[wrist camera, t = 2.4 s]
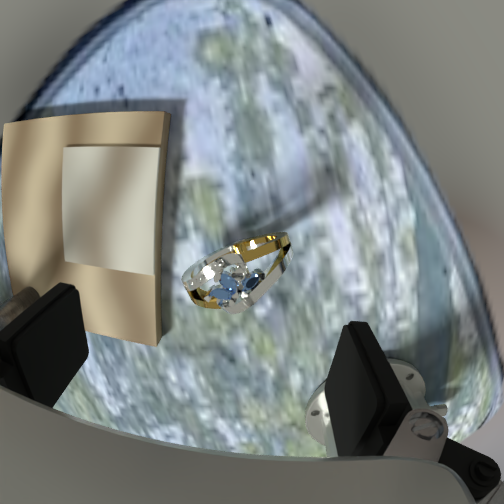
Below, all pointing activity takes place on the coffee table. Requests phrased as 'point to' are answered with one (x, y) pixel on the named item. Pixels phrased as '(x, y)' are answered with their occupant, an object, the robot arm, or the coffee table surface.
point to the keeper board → (89, 214)
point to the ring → (237, 273)
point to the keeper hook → (17, 305)
